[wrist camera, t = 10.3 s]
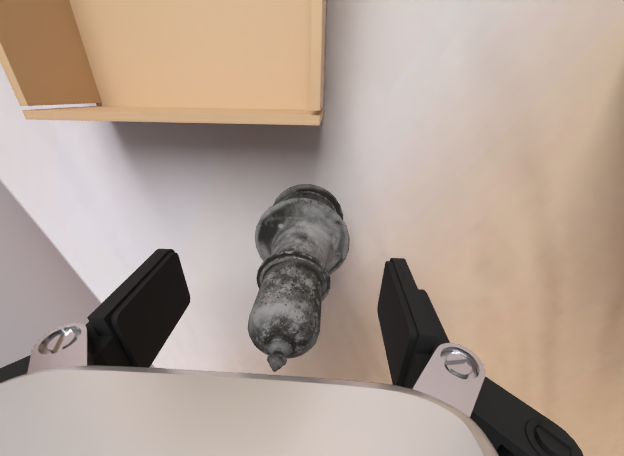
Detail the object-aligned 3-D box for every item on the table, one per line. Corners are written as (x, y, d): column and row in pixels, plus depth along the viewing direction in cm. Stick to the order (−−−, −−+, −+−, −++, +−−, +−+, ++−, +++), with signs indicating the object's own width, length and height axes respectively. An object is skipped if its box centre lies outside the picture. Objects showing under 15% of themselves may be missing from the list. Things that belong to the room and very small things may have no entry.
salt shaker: (350, 248, 20) (369, 419, 10) (277, 255, 21) (219, 421, 10) (342, 174, 18) (355, 297, 7) (258, 186, 19) (158, 311, 8)
